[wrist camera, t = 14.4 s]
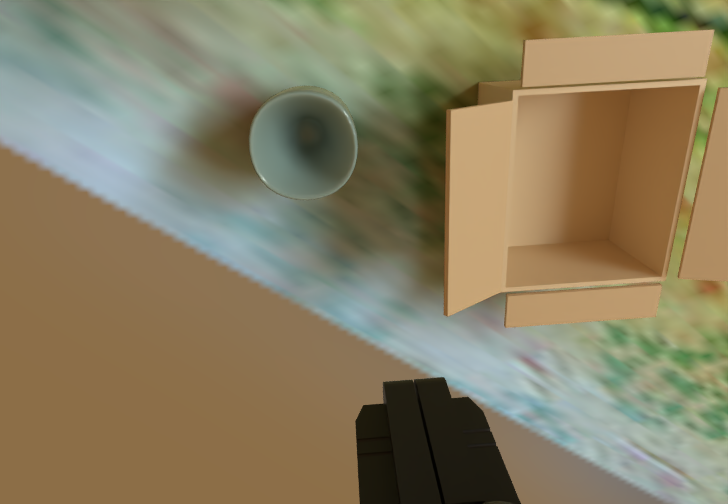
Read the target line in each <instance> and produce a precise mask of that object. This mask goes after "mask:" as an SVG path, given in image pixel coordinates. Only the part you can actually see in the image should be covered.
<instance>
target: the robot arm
mask: <svg viewBox="0 0 728 504" xmlns="http://www.w3.org/2000/svg"><path fill="white" fill-rule="evenodd" d="M383 400H384V404H373V405H363V407H362V409H361V411H360V413H359V415H358V417H357V419H356V439H357V458H358V478H359V497H360V504H521V503H520V501H519V499H518V496H517V494H516V491H515V489H514V486H513V484H512V481H511V479H510V476H509V474H508V471H507V469H506V467H505V464H504V462H503V459H502V457H501V454H500V452H499V449H498V447H497V446H496V442H495V440H494V437H493V435H492V432H490V427H489V425H488V422H487V420H486V417H485V415H484V413H483V411H482V410H481V409H480V408H479V407H478V406H477V405H476V404H475V403H474V402H473V401H472V400H471V399H470V398H469V397H462V398H451V395H450V392H449V389H448V386H447V383H446V380H445V378H444V377H440V378H427V379H415V380H414V383H413V380H402V381H389V382H383Z"/></svg>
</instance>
